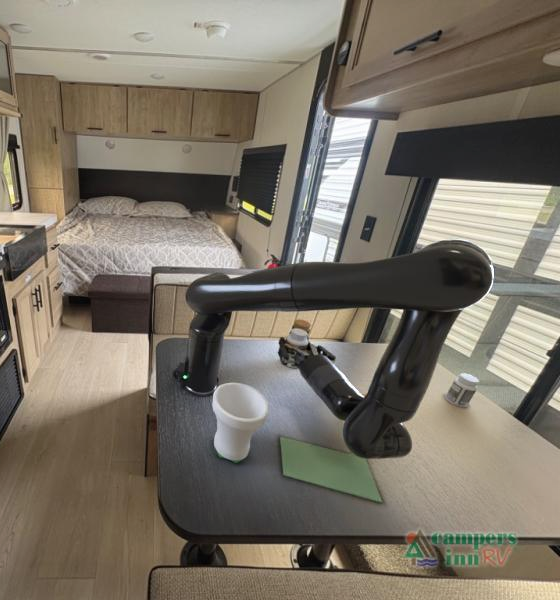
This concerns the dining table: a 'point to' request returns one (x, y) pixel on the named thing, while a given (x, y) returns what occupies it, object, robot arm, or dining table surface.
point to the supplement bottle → (297, 341)
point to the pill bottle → (462, 390)
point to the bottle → (302, 326)
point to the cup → (237, 418)
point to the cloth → (328, 468)
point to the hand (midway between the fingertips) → (291, 340)
